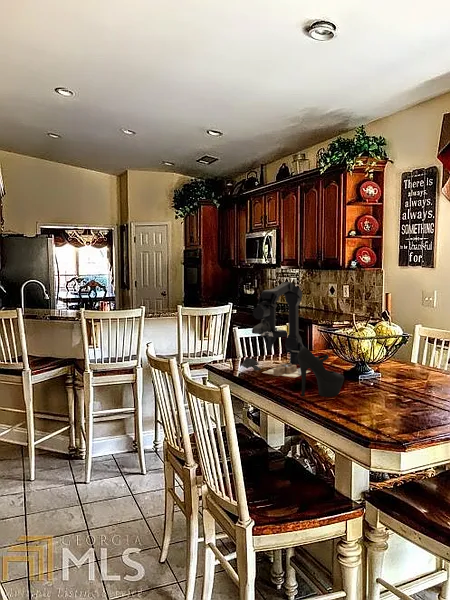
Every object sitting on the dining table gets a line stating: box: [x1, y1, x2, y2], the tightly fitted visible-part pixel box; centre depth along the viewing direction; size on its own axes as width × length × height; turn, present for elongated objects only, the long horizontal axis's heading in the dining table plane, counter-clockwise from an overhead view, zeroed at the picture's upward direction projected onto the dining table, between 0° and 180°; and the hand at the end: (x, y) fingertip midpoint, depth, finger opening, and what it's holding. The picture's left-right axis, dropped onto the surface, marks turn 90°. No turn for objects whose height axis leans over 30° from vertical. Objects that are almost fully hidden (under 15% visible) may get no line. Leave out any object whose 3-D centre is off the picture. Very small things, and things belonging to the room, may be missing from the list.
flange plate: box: [273, 363, 298, 377], centre depth 237 cm, size 14×7×3 cm, turn 144°
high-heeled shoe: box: [297, 346, 345, 398], centre depth 203 cm, size 8×19×20 cm, turn 94°
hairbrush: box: [242, 357, 262, 371], centre depth 253 cm, size 8×4×25 cm
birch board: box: [261, 367, 312, 379], centre depth 240 cm, size 16×18×1 cm
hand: (269, 350), depth 238 cm, fingers closed
